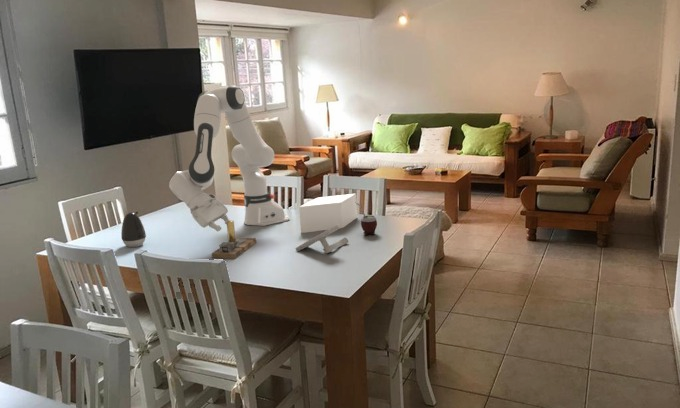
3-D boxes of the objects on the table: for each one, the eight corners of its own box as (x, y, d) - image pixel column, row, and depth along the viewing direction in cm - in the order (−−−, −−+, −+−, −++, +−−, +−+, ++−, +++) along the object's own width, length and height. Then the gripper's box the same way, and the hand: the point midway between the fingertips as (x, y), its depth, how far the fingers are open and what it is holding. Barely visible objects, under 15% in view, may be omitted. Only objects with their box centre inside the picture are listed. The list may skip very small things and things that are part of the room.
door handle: (304, 265, 232) (337, 247, 220) (295, 248, 233) (327, 229, 220) (329, 252, 246) (361, 235, 234) (320, 236, 247) (352, 217, 234)
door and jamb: (234, 242, 250) (233, 231, 249) (255, 242, 247) (255, 231, 246) (212, 258, 229) (210, 246, 228) (235, 258, 226) (233, 246, 225)
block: (369, 220, 275) (368, 195, 272) (313, 236, 253) (311, 209, 250) (345, 215, 288) (344, 191, 285) (289, 230, 266) (287, 204, 263)
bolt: (232, 243, 239) (229, 219, 237) (238, 243, 238) (236, 219, 236) (221, 250, 230) (219, 226, 227) (228, 250, 229) (226, 226, 227)
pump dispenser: (151, 242, 257) (147, 209, 254) (139, 249, 247) (134, 215, 244) (131, 241, 259) (126, 209, 256) (118, 248, 249) (113, 215, 246)
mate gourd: (380, 233, 251) (379, 200, 248) (369, 237, 245) (367, 204, 242) (367, 231, 256) (366, 198, 253) (356, 235, 250) (354, 202, 247)
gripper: (192, 204, 224) (218, 228, 224) (215, 193, 244) (239, 215, 243) (183, 215, 226) (209, 239, 226) (207, 203, 246) (230, 225, 245)
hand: (224, 226), depth 235 cm, fingers open, 8 cm apart
